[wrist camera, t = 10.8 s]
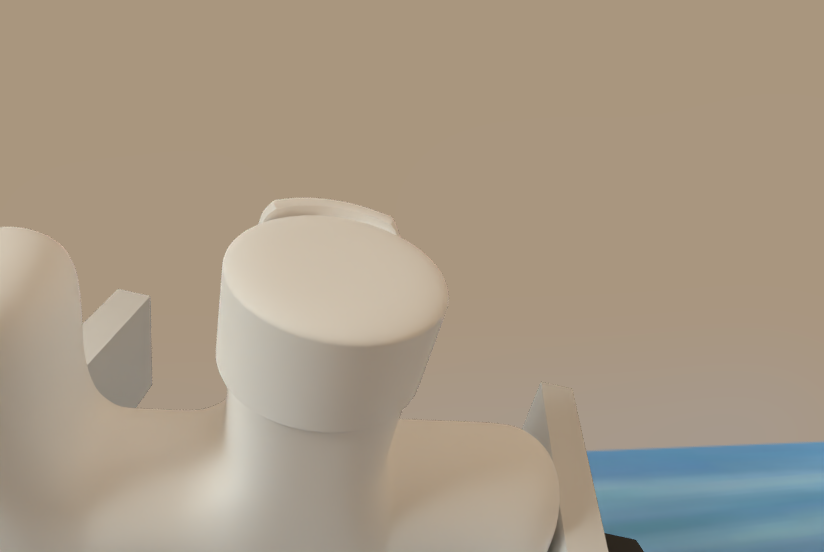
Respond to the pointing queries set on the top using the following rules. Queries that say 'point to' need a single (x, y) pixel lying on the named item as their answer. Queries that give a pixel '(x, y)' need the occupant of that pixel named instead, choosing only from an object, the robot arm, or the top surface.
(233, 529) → the figurine
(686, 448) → the top surface
